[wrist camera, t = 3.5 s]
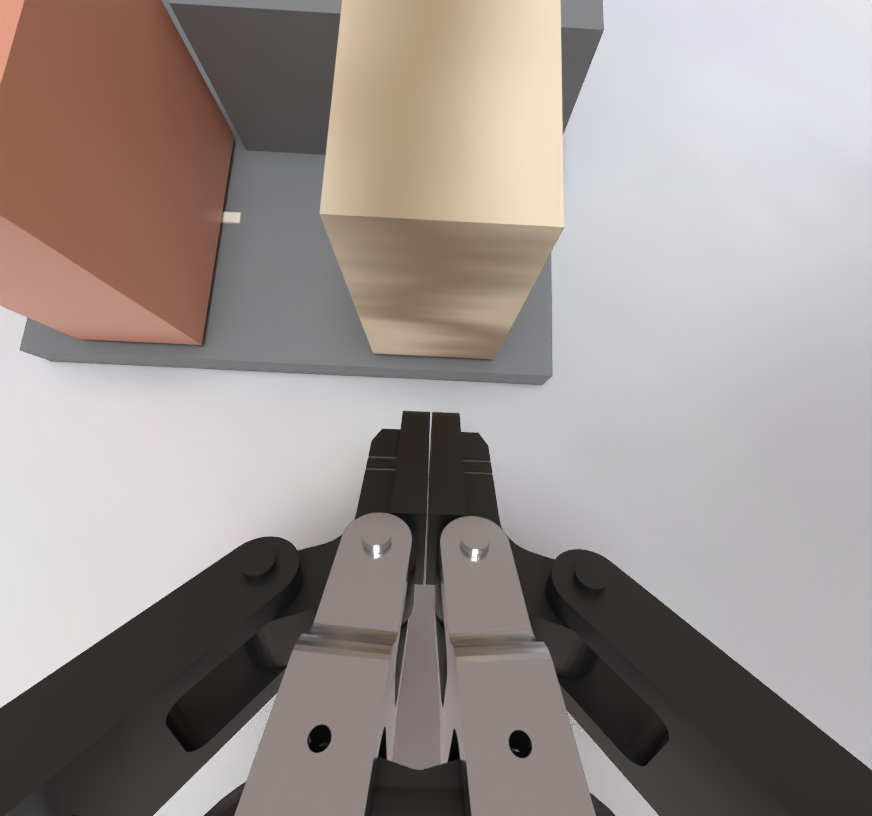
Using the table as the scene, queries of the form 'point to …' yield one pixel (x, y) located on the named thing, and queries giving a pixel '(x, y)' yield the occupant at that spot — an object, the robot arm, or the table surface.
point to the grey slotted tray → (303, 210)
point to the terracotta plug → (107, 171)
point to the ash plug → (444, 167)
